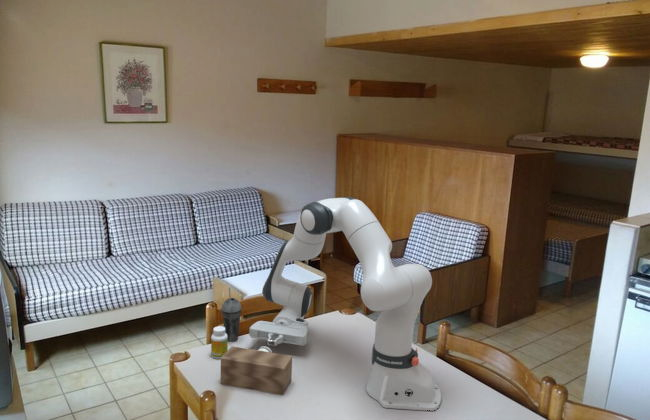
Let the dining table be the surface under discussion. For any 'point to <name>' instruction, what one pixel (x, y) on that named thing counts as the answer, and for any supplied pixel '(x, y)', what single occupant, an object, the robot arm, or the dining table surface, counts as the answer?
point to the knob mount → (256, 370)
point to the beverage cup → (231, 317)
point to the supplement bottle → (219, 342)
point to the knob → (265, 349)
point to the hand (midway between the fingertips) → (271, 343)
